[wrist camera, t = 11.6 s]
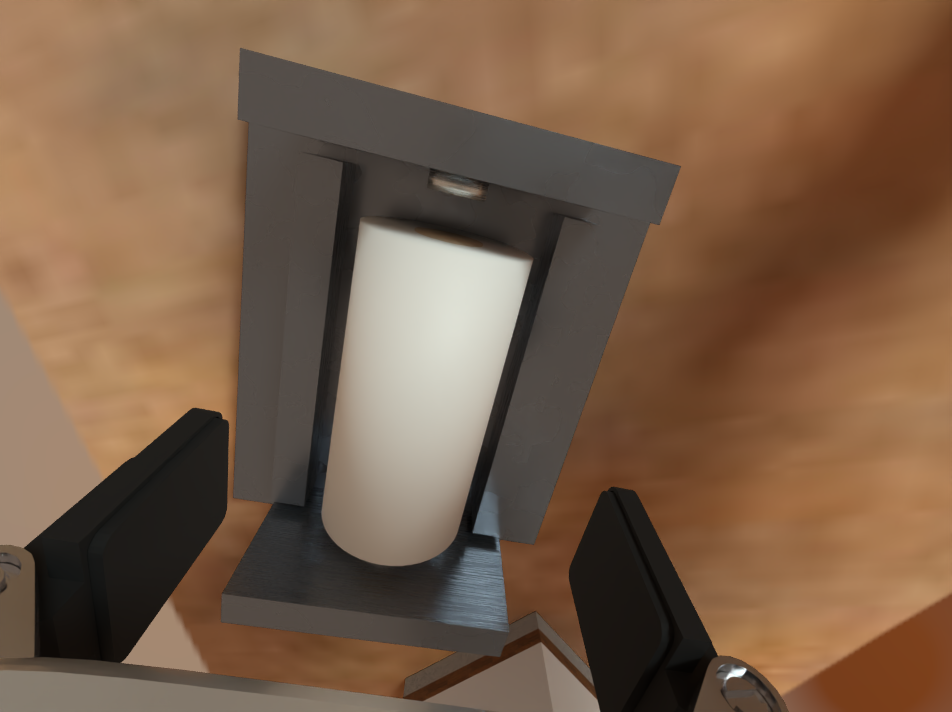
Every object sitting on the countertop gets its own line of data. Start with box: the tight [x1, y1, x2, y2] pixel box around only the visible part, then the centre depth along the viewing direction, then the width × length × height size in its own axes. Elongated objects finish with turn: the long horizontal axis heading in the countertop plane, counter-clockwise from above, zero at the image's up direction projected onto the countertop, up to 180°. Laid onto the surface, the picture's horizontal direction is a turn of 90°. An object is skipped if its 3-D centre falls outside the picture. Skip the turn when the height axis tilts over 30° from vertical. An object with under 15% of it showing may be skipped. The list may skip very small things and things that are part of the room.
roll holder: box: [221, 48, 681, 657], centre depth 18 cm, size 16×19×8 cm
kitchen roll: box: [321, 216, 533, 566], centre depth 18 cm, size 6×12×6 cm, turn 167°
